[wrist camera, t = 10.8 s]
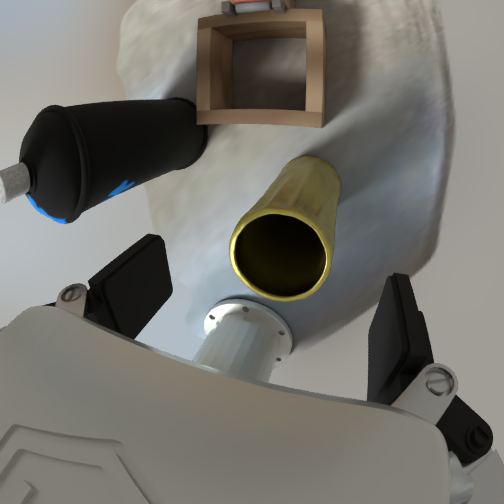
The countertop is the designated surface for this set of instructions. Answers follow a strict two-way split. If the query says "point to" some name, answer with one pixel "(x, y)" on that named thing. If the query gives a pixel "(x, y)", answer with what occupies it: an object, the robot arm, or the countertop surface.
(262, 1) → the keeper bar
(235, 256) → the vase
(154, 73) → the countertop surface
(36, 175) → the aerosol can
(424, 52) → the countertop surface
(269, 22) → the block
